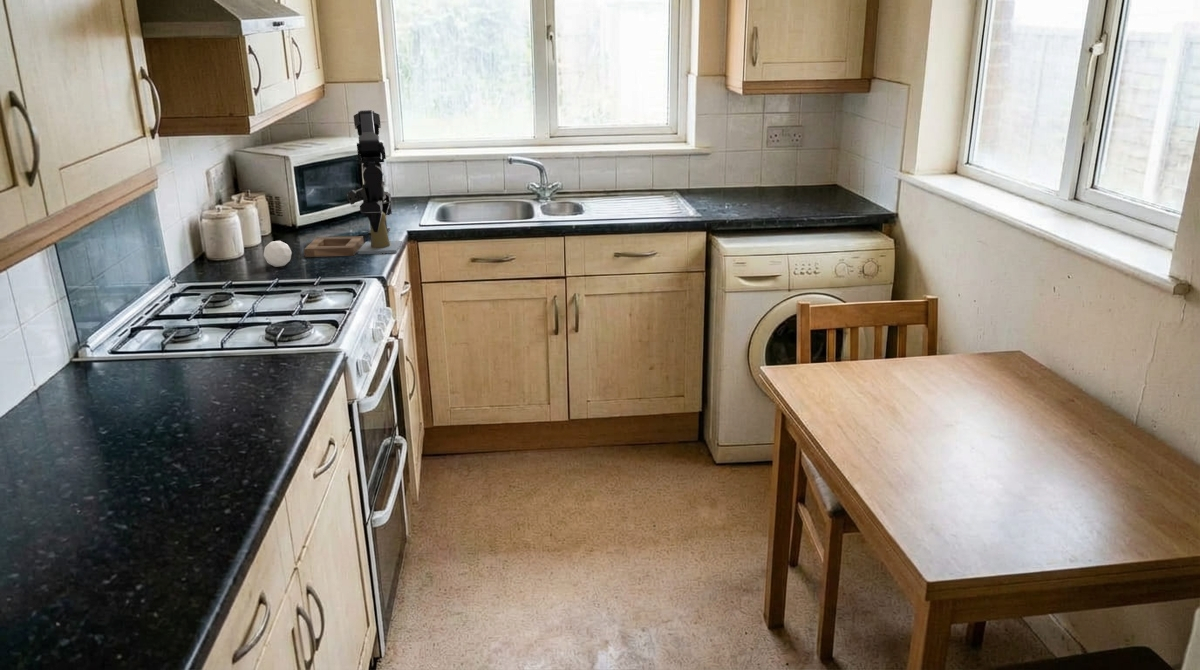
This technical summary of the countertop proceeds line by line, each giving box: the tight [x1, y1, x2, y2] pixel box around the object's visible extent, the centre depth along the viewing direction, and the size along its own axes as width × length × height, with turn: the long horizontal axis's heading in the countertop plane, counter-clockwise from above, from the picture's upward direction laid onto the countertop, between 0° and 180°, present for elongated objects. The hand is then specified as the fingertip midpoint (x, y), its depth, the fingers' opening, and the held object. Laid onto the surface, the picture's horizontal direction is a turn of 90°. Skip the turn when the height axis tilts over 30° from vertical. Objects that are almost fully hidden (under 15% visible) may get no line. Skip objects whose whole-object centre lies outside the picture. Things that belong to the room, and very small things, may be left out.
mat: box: [357, 240, 404, 255], centre depth 273 cm, size 12×12×1 cm
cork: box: [370, 212, 390, 248], centre depth 271 cm, size 6×6×11 cm
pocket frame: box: [303, 235, 365, 258], centre depth 272 cm, size 15×15×2 cm
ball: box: [263, 240, 292, 268], centre depth 255 cm, size 8×8×8 cm
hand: (378, 228), depth 271 cm, fingers open, 9 cm apart
